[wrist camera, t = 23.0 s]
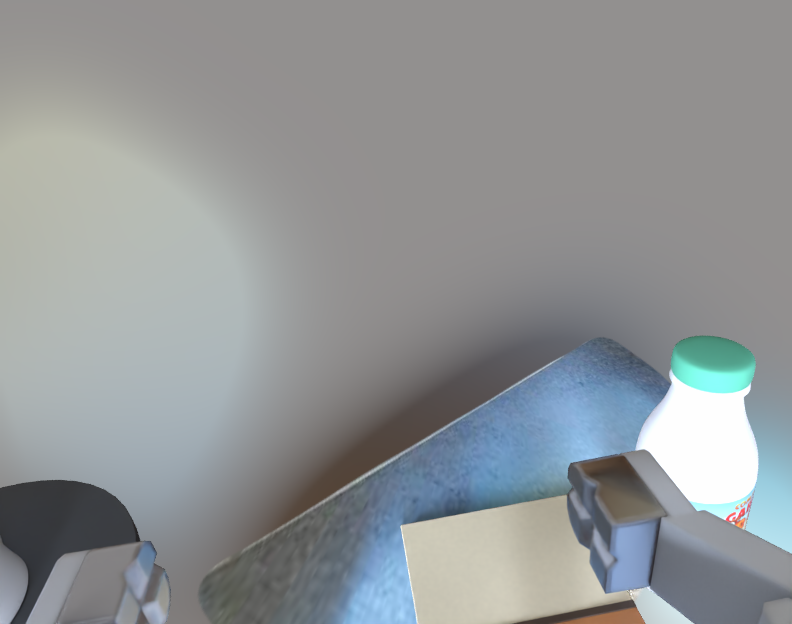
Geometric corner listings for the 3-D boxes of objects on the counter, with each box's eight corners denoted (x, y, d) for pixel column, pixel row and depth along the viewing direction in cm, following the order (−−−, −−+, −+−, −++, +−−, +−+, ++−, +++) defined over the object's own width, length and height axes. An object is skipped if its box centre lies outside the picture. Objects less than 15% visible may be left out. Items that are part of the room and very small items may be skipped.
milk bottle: (622, 594, 42) (648, 380, 33) (622, 516, 48) (644, 317, 39) (738, 620, 39) (803, 395, 30) (722, 534, 46) (772, 325, 36)
